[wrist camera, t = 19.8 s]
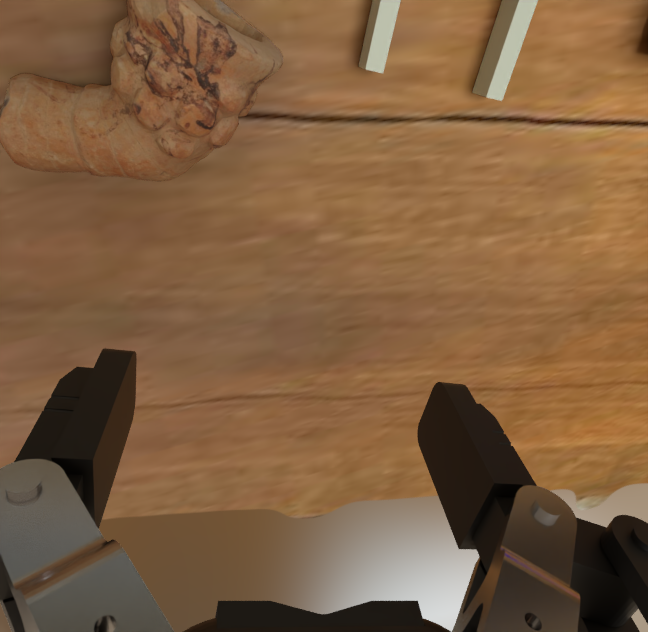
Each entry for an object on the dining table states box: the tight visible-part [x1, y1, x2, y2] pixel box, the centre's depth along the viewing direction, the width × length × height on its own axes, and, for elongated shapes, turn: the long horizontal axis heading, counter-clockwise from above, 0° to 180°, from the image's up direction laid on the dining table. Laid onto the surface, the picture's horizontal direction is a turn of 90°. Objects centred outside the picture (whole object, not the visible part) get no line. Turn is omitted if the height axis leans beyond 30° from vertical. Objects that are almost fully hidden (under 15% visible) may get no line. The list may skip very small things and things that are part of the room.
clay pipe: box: [0, 0, 283, 181], centre depth 35 cm, size 19×11×15 cm
